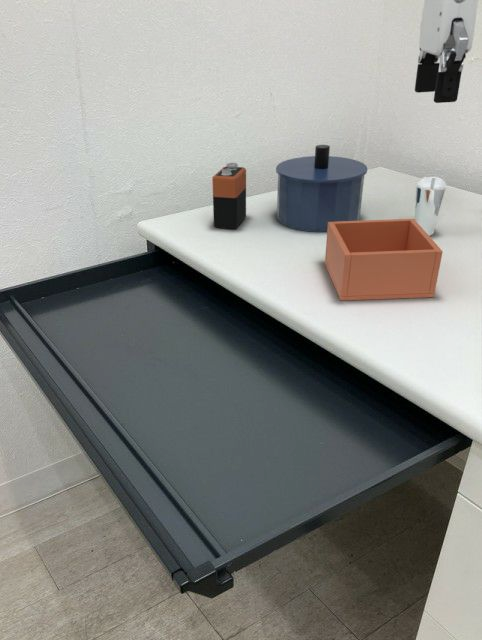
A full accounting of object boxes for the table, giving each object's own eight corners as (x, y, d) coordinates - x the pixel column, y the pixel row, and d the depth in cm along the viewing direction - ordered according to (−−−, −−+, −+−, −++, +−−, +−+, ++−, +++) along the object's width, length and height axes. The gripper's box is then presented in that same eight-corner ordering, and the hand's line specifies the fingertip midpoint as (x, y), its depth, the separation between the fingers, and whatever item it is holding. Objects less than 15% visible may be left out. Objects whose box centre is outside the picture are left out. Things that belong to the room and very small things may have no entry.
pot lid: (355, 160, 110) (358, 134, 108) (376, 184, 97) (380, 155, 95) (271, 163, 110) (272, 138, 108) (281, 188, 98) (282, 159, 95)
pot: (349, 203, 114) (354, 157, 109) (367, 230, 102) (373, 180, 97) (273, 206, 114) (274, 161, 110) (282, 233, 102) (283, 184, 98)
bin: (407, 260, 91) (414, 218, 87) (433, 297, 80) (443, 251, 77) (324, 263, 91) (327, 221, 87) (340, 300, 81) (345, 255, 77)
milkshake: (408, 238, 98) (418, 177, 92) (409, 227, 102) (418, 168, 97) (437, 240, 97) (449, 178, 91) (437, 229, 101) (448, 169, 95)
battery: (246, 217, 110) (246, 161, 104) (236, 230, 104) (236, 172, 99) (224, 215, 111) (223, 160, 105) (212, 228, 106) (211, 171, 100)
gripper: (508, -45, 73) (481, 105, 83) (460, -41, 88) (441, 86, 97) (446, -41, 74) (426, 108, 83) (408, -37, 88) (395, 89, 98)
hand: (434, 96), depth 90 cm, fingers open, 9 cm apart
